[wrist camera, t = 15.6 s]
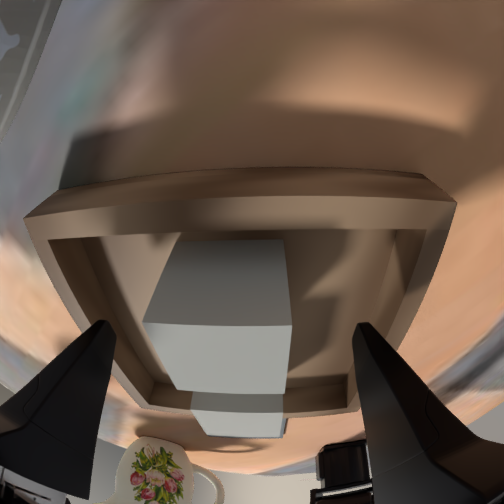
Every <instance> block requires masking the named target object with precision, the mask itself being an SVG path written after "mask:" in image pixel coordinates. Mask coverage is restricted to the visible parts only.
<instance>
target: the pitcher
mask: <svg viewBox="0 0 504 504" xmlns="http://www.w3.org/2000/svg"><path fill="white" fill-rule="evenodd" d="M193 473H198V474H200V475H202V476H204V477H205V478H207V479H208V480H209V481H210V482H211V483H212V484H213V485H214V487H215V490H216V501H215V503H214V504H223V503H224V488H223V485H222V483H221V481H220V480H219V479H218V478H217V477H216V476H215V475H214V474H213V473H212V472H210V471H209V470H207V469H205V468H203V467H201V466H198V465H196V464H193V463H191V462H190V461H189V458H188V456H187V454H186V452H185V451H184V448H183V447H181V446H180V445H178V444H175V443H172V442H169V441H166V440H162V439H158V438H153V437H146V436H142V437H140V438H139V439H137V440H136V441H134V442H133V443H132V444H131V445H130V446H129V447H128V449H127V450H126V451H125V453H124V455H123V456H122V458H121V460H120V463H119V465H118V468H117V472H116V478H115V492H114V494H113V495H112V496H111V497H110V498H109V499H107V500H106V501H104V502H101V503H94V504H192V502H191V500H192V497H193V492H194V478H193Z"/></svg>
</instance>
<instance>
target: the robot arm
mask: <svg viewBox="0 0 504 504" xmlns="http://www.w3.org/2000/svg"><path fill="white" fill-rule="evenodd" d="M116 341H117V335H116V332H115V331H114V329H113V327H112V325H111V324H110V322H109V321H108V320H102V319H99V320H97V321H96V322H95V323H94V324H93V325H91V326H90V327H89V328H88V329H87V330H86V331H85V332H83V333H82V334H81V335H80V336H79V337H78V338H77V339H76V340H74V341H73V342H72V343H71V344H70V345H69V346H68V347H67V348H65V349H64V350H63V351H62V352H61V353H60V354H59V355H58V356H57V357H56V358H55V359H53V360H52V361H51V362H50V363H49V364H48V365H47V366H46V367H45V368H44V369H43V370H42V371H41V372H40V373H39V374H37V375H36V376H35V377H34V378H33V379H32V380H31V381H30V382H29V383H28V384H27V385H25V386H24V387H23V388H22V389H21V390H20V391H18V392H17V393H16V394H15V395H14V396H12V397H11V398H10V399H9V400H7V401H6V402H5V403H4V404H2V405H1V406H0V504H71V503H70V501H69V500H68V498H66V495H67V494H69V495H72V496H76V497H79V498H82V499H86V500H89V494H90V483H91V475H92V467H93V459H94V453H95V447H96V441H97V435H98V430H99V424H100V419H101V414H102V410H103V405H104V401H105V396H106V392H107V388H108V384H109V380H110V375H111V371H112V365H113V358H114V352H115V347H116ZM352 348H353V357H354V368H355V378H356V384H357V390H358V394H359V399H360V405H361V410H362V415H363V421H364V426H365V432H366V438H367V440H364V441H358V442H352V443H346V444H339V445H332V446H325V447H323V448H322V449H321V451H320V452H319V453H318V454H317V456H316V457H315V459H316V474H317V475H316V476H317V480H318V481H321V489H312V490H310V493H311V494H310V497H311V498H310V504H504V444H500V443H496V442H492V441H488V440H484V439H482V438H480V437H478V436H476V435H475V434H474V433H473V432H471V431H470V430H469V429H468V428H467V427H466V426H465V425H464V424H463V423H462V422H461V421H460V420H459V419H458V418H457V417H456V416H455V415H453V414H452V413H451V412H450V411H449V410H448V409H447V408H446V407H445V406H444V405H443V403H442V402H441V401H440V400H439V399H438V398H437V397H436V396H435V394H434V393H433V392H432V391H431V390H430V389H429V388H428V387H427V385H426V384H425V383H424V382H423V381H422V380H421V378H420V377H419V376H418V375H417V374H416V373H415V372H414V371H413V369H412V368H411V367H410V366H409V365H408V364H407V363H406V362H405V360H404V359H403V358H402V357H401V356H400V355H399V354H398V353H397V352H396V351H395V349H394V348H393V347H392V346H391V345H390V344H389V343H388V342H387V341H386V340H385V338H384V337H383V336H382V335H381V334H380V333H379V332H378V331H377V330H376V329H375V328H374V327H373V326H372V324H371V323H369V322H359V323H357V325H356V328H355V331H354V334H353V336H352ZM366 445H368V451H369V458H370V465H371V473H372V477H373V478H371V479H370V475H369V467H368V459H367V452H366ZM370 484H372V487H369V488H365V489H360V490H356V491H351V492H346V493H341V494H334V495H328V496H323V493H330V492H336V491H341V490H346V489H352V488H357V487H361V486H366V485H370ZM371 493H373V495H371Z"/></svg>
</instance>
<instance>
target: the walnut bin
mask: <svg viewBox="0 0 504 504" xmlns="http://www.w3.org/2000/svg"><path fill="white" fill-rule="evenodd" d="M456 206H457V202H456V201H455V200H454V199H453V198H451V197H450V196H449V195H448V194H447V193H445V192H444V191H443V190H442V189H440V188H439V187H438V186H437V185H435V184H434V183H433V182H432V181H430V180H429V179H428V178H426V177H425V176H424V175H422V174H416V173H406V172H396V171H384V170H370V169H352V168H325V167H261V168H234V169H216V170H201V171H189V172H178V173H168V174H158V175H150V176H141V177H134V178H126V179H119V180H113V181H106V182H100V183H94V184H88V185H83V186H77V187H72V188H67V189H62V190H57V191H56V192H55V193H53V194H52V195H51V196H50V197H48V198H47V199H46V200H44V201H43V202H42V203H41V204H40V205H38V206H37V207H36V208H35V209H34V210H32V211H31V212H30V213H29V214H28V215H26V216H25V217H24V218H23V220H24V222H25V225H26V227H27V230H28V232H29V235H30V237H31V240H32V242H33V244H34V247H35V249H36V251H37V253H38V255H39V257H40V260H41V262H42V264H43V266H44V268H45V270H46V272H47V274H48V276H49V278H50V280H51V282H52V283H53V285H54V287H55V289H56V291H57V293H58V294H59V296H60V298H61V300H62V301H63V303H64V305H65V307H66V308H67V310H68V312H69V313H70V315H71V317H72V318H73V320H74V321H75V323H76V324H77V326H78V328H79V329H80V331H81V332H82V333H83V332H85V331H86V330H87V329H88V328H89V327H90V326H91V325H93V324H94V323H95V322H96V321H97V320H99V319H102V320H108V321H109V322H110V324H111V325H112V327H113V329H114V331H115V332H116V335H117V341H116V347H115V352H114V358H113V365H112V371H111V373H112V375H113V376H114V377H115V378H116V380H117V381H118V382H119V383H120V385H121V386H122V387H123V388H124V389H125V390H126V392H127V393H128V394H129V395H130V396H131V397H132V398H133V400H134V401H135V402H136V403H137V404H138V405H139V406H140V407H141V408H144V409H150V410H156V411H162V412H169V413H177V414H185V415H193V413H192V412H191V410H190V407H191V401H192V395H193V391H186V390H177V389H176V387H175V385H174V383H173V382H172V380H171V378H170V376H169V375H168V373H167V371H166V369H165V367H164V366H163V364H162V362H161V360H160V358H159V356H158V354H157V352H156V350H155V348H154V346H153V344H152V342H151V340H150V338H149V336H148V334H147V332H146V330H145V328H144V326H143V324H142V320H143V317H144V315H145V312H146V310H147V307H148V305H149V302H150V300H151V298H152V295H153V293H154V290H155V288H156V286H157V283H158V281H159V278H160V276H161V274H162V272H163V269H164V267H165V265H166V262H167V260H168V258H169V256H170V253H171V251H172V249H173V247H174V245H175V243H176V242H185V241H224V240H274V239H283V242H284V250H285V259H286V268H287V278H288V287H289V297H290V307H291V318H292V333H291V342H290V352H289V361H288V369H287V378H286V386H285V394H283V417H282V418H301V417H315V416H325V415H335V414H343V413H350V412H357V411H358V410H359V409H360V407H361V405H360V399H359V394H358V390H357V384H356V378H355V368H354V357H353V348H352V336H353V334H354V331H355V328H356V325H357V323H359V322H369V323H371V324H372V326H373V327H374V328H375V329H376V330H377V331H378V332H379V333H380V334H381V335H382V336H383V337H384V338H385V340H386V341H387V342H388V343H389V344H390V345H391V346H392V347H393V348H394V349H395V351H397V349H398V348H399V346H400V344H401V342H402V340H403V339H404V337H405V335H406V333H407V331H408V329H409V327H410V325H411V323H412V321H413V319H414V317H415V315H416V313H417V311H418V309H419V307H420V305H421V302H422V300H423V298H424V296H425V294H426V291H427V289H428V287H429V284H430V282H431V279H432V277H433V275H434V272H435V270H436V267H437V264H438V262H439V259H440V256H441V254H442V251H443V248H444V245H445V242H446V239H447V236H448V233H449V230H450V227H451V223H452V220H453V217H454V213H455V209H456Z"/></svg>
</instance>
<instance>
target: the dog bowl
mask: <svg viewBox="0 0 504 504" xmlns="http://www.w3.org/2000/svg"><path fill="white" fill-rule="evenodd" d="M61 1H62V0H0V143H1V142H2V140H3V138H4V137H5V135H6V133H7V131H8V130H9V128H10V126H11V124H12V122H13V120H14V118H15V116H16V114H17V112H18V109H19V107H20V105H21V103H22V100H23V98H24V96H25V94H26V91H27V89H28V87H29V84H30V82H31V79H32V77H33V74H34V72H35V70H36V67H37V65H38V62H39V60H40V57H41V54H42V52H43V49H44V47H45V44H46V41H47V39H48V36H49V34H50V31H51V28H52V26H53V23H54V20H55V17H56V15H57V12H58V9H59V6H60V3H61Z"/></svg>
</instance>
